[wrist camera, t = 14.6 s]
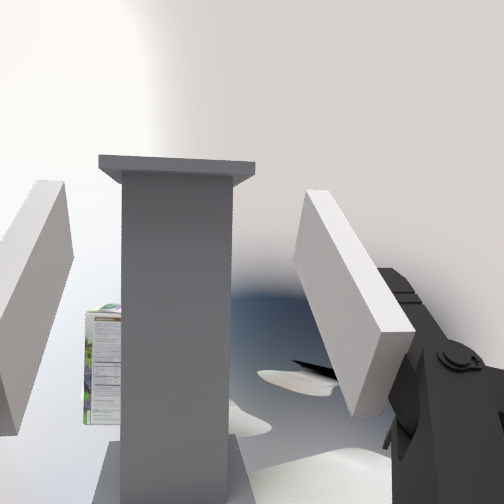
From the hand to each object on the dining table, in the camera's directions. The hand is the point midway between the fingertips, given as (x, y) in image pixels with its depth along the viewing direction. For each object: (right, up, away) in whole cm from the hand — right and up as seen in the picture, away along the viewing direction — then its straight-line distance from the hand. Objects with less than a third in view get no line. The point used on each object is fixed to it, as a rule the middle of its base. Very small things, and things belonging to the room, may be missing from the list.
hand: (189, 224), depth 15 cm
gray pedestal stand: (-6, -24, +30) cm, 38 cm away
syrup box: (-16, -23, +46) cm, 54 cm away
